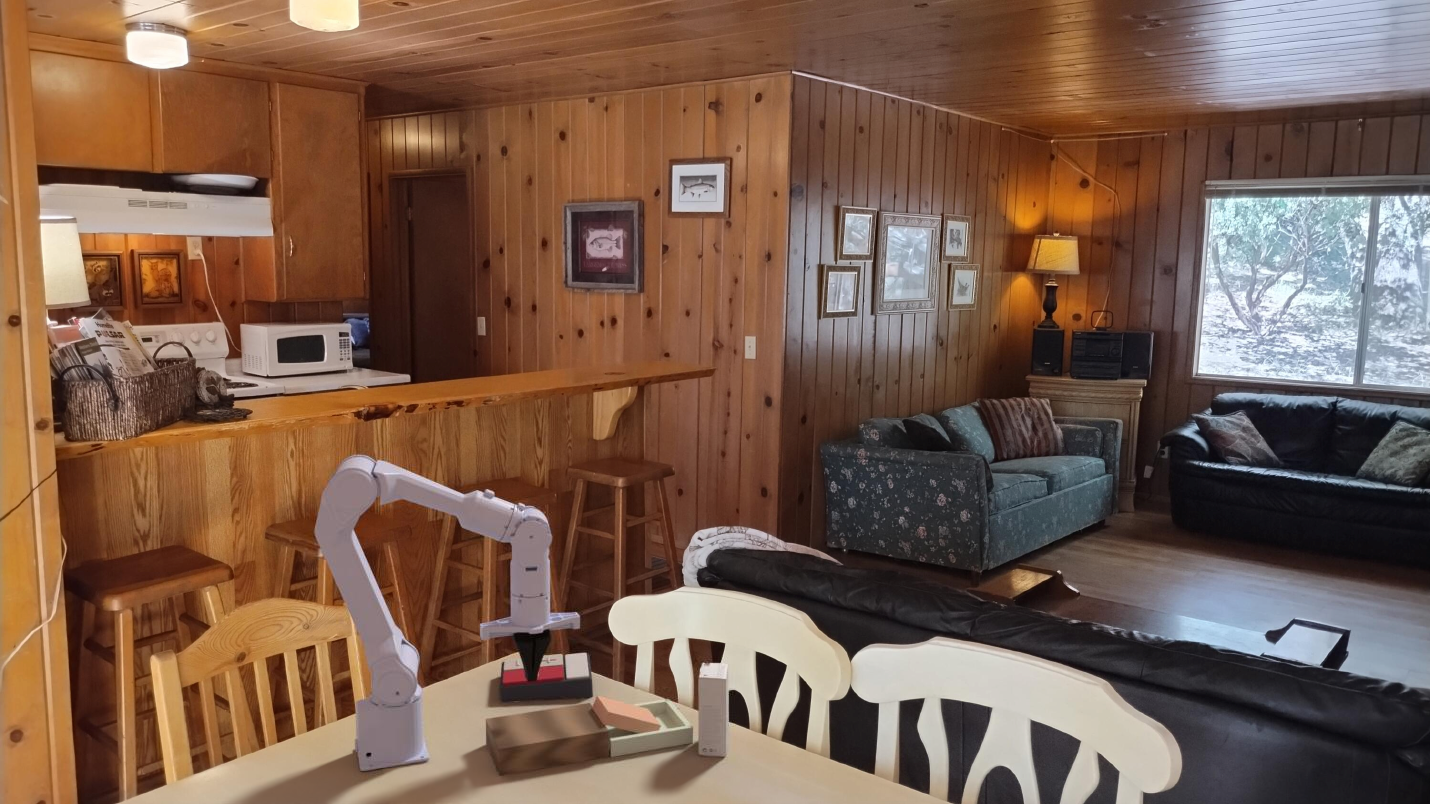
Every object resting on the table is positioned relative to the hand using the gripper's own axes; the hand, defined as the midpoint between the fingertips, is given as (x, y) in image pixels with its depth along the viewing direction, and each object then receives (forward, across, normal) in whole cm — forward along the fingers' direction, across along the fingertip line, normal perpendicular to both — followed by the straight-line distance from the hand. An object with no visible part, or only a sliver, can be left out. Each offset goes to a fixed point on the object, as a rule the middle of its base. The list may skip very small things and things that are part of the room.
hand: (531, 678), depth 157 cm
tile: (+8, +13, -3) cm, 16 cm away
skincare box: (+10, +25, -11) cm, 29 cm away
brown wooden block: (+10, +2, -4) cm, 11 cm away
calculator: (+10, +7, +19) cm, 23 cm away
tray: (+10, +16, -4) cm, 19 cm away
